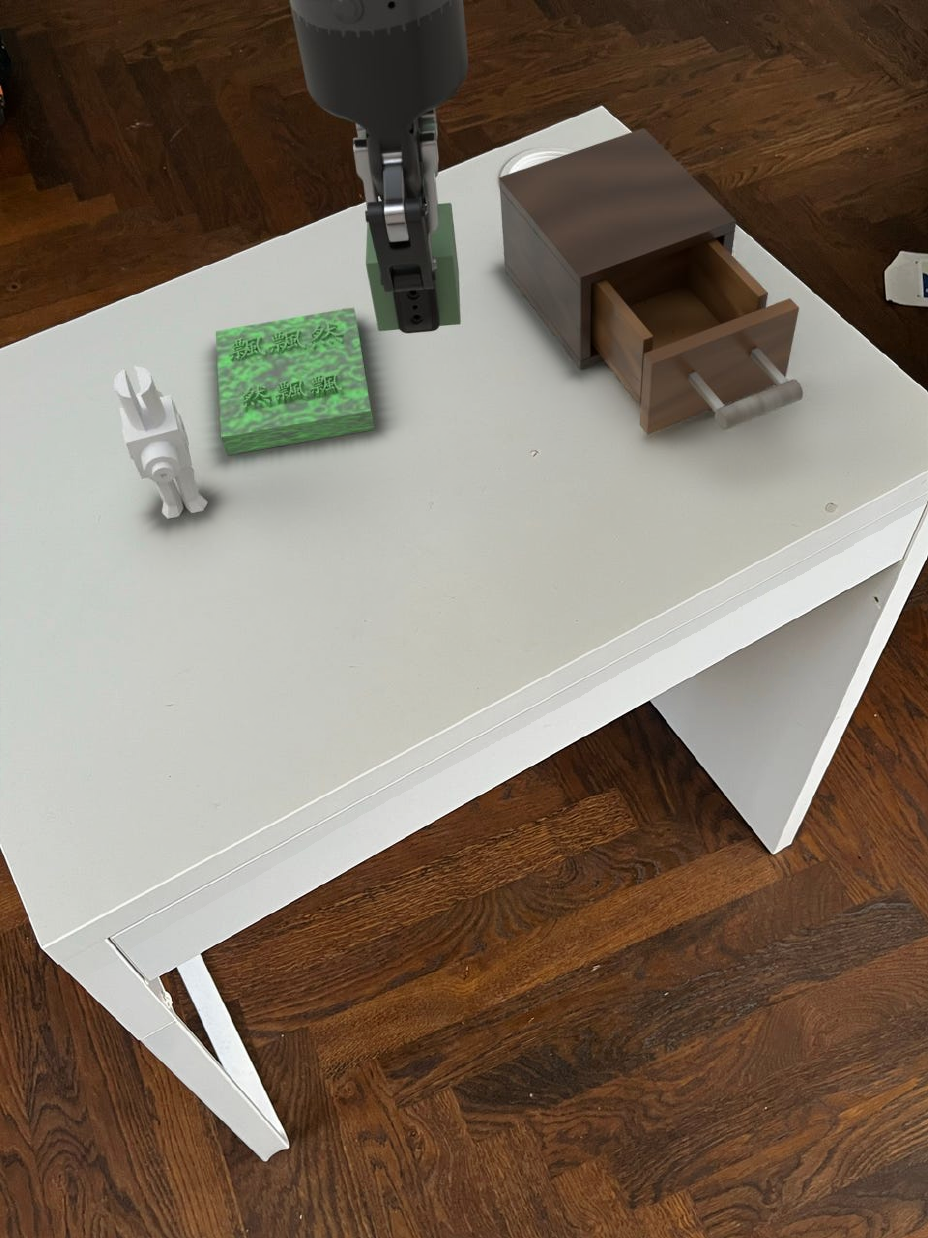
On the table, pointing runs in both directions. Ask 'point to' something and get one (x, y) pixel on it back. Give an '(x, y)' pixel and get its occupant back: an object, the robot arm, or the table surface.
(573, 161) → the cabinet
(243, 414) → the green jade tablet
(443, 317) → the block
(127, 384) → the toy robot
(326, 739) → the table surface
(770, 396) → the drawer
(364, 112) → the robot arm
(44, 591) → the table surface
